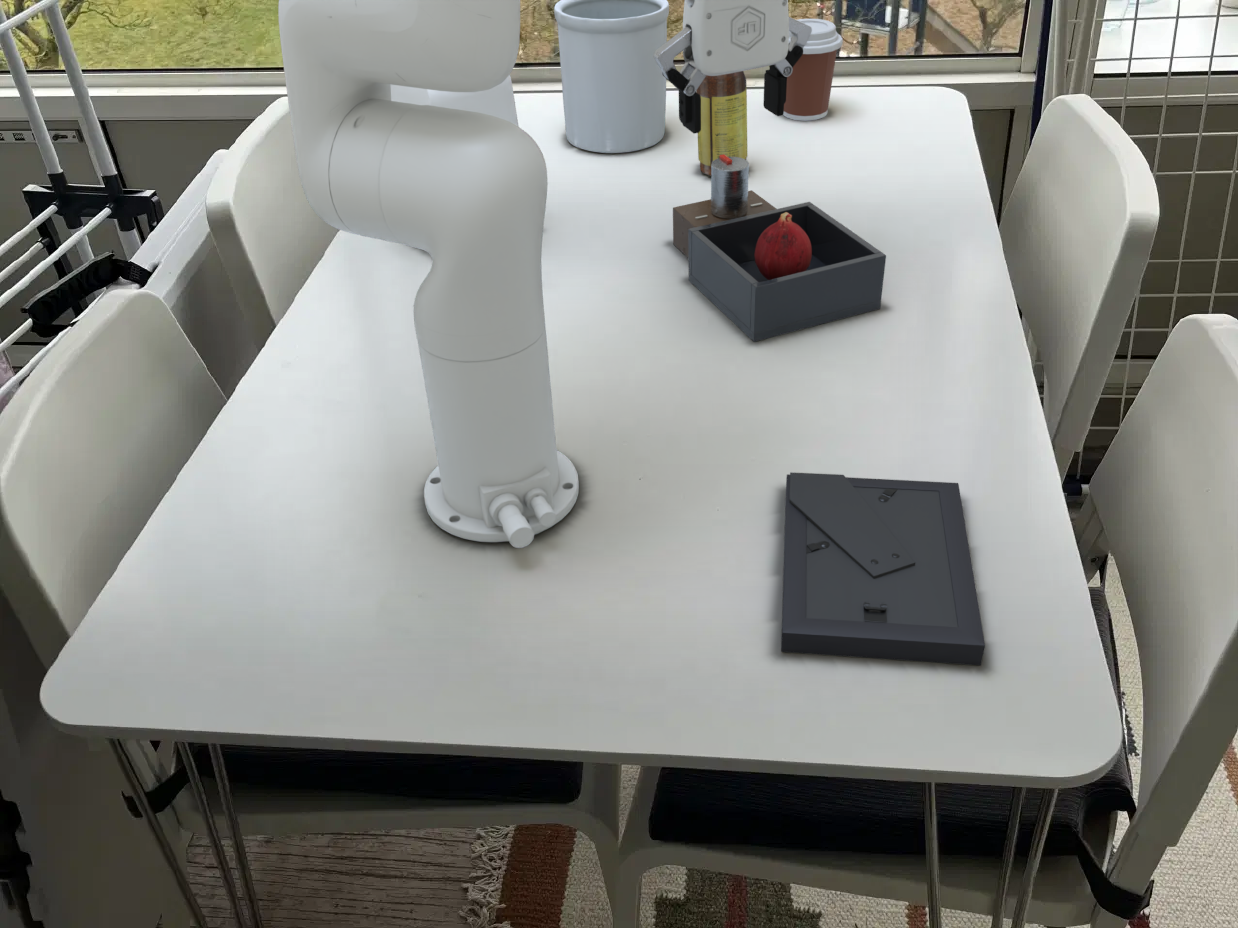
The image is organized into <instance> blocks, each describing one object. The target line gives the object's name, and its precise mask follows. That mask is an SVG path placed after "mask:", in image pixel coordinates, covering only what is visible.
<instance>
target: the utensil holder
mask: <svg viewBox="0 0 1238 928" xmlns="http://www.w3.org/2000/svg"><path fill="white" fill-rule="evenodd" d="M553 13H554V18H555V21H556V22H557V34H558V35H557V37H558V48H559V50H558V51H559V65H560V77H561V90H562V91H561V92H562V105H563V115H564V127H565V135H566V140H567V141H568V142H569V144H570V145H572V146H574V147H576V148H578V149H580V150H584V151H588V152H593V153H603V154H620V153H631V152H636V151H641V150H645V149H647V148H650V147H653V146H655V145H657V144H658V143H659V142H661V141H662V139H663V138H664V136H665V130H666V111H667V110H666V107H667V79H666V78H665V77H664V76H663V74H662V71H661V70H660V68H659V66H658V64H657V62H656V61H655V59H654V56H653V54H654V52H655V51H656V50H657V49H658V48H659V47H661V46H662V45H663V44H665V43H666V42H667V41H668V17H669V15H670V14H669V13H670V3H669V1H668V0H559V1H557V2H556V3H555V5H554V7H553Z"/></svg>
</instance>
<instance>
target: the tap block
mask: <svg viewBox="0 0 1238 928" xmlns="http://www.w3.org/2000/svg"><path fill="white" fill-rule="evenodd" d="M775 209H777V208H776V207H775V206H774V205H772V204H771V203H770V202H768V201H767V200H766V199H764V198H763V197H762V196H760V195H759V194H757V193H756V192H754V190H748V209H747V213H746V214H745V215H744V216H748V215H753V214H757V213H762V212H766V211H770V210H775ZM744 216H742V217H744ZM733 219H735V218H733ZM726 220H731V219H725V218H719V217H716V216H714V215H713V214H712V213H711V198H710V199H706V200H705V199H704V200H700V201H696V202H692V203H687V204H683V205H678V206H674V207H672V244H673V245H674V247H676V248H677V249H678V250H679V251H680V252H681V253H682V254H683V255H685V256H686V257H687V259H689V256H688V229H691V228H695V227H700V226H704V225H708V224H713V223H717V222H722V221H726Z"/></svg>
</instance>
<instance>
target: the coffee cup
mask: <svg viewBox="0 0 1238 928" xmlns="http://www.w3.org/2000/svg"><path fill="white" fill-rule="evenodd" d="M796 20H797V21H800V22H802V23H804V24H806V25H808V26H810V27H811V28H812V32H811V34H810V36H809V39H808V41H807V43H806V45H805V46H804V48H803V54H802V56H801V57H800V59H799V60H798V61H797V62H796V64H795V65H794V66H793V68H792V69H793V71H792V74H791V75H790V76H788V77H787V89H786V102H785V104H784V113H783V115H782V116H783V117H785V118H787V119H791V120H794V121H803V122H806V121H816V120H820V119H823V118H825V117H827V115H828V113H829V105H830V99H831V98H830V97H831V92H832V84H833V78H834V72H835V66H836V59H837V53H838V50H839V49H840V48H841V47H842V46H843V44H844V39H843V37H842V36H841V34H839V33H838V32H837V26H836V25H835V24H834V22H832V21H829V20H827V19H822V18H800V19H796ZM791 37H792V33H791V32H790V31H789V43H790V41H791V40H790V39H791Z"/></svg>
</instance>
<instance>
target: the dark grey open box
mask: <svg viewBox="0 0 1238 928" xmlns="http://www.w3.org/2000/svg"><path fill="white" fill-rule="evenodd" d="M785 212H787V213H789V214H790V215H792V218H791V220H792V222H794V223H796V224H797V225H799V226H800V227H801V228H802V229H803V230H804V232H805V233H806V234H807V236H808V237H809V240H810V243H811V248H812V256H811V261H810V265H809V267H808V268H807V270H806V271H804V272H799V273H795V274H791V275H787V276H783V277H779V278H775V279H771V280H768V279H766V278H765V277H764V276H763V275H762V274H761V273H760V271H759V269H758V267H757V265H756V263H755V255H754V254H755V248H756V244H757V241H758V238H759V237H760V235H761V234H762V232H763V231H764V230H765V229H767V228H768V227H769V226H770V225H772V224H774V223H776V222H777V221H778V220H779V218H780V216H781V214H783V213H785ZM688 256H689V258H688V281H689V282H690V283H691V284H692V285H693V286H694V287H695V288H696V289H697V290H698V291H699V292H700V293H702V295H704V296H705V297H706V299H708V300H709V302H711V303H712V304H713V305H714V306H715V307H716V308H717V309H718V310H719V311H720V312H721V313H722V314H723V315H725V316H726V318H727V319H729V320H730V321H731V322H732V323H733V324H734V325H735V326H736V327H737V328H738V329H739V330H740V331H742V332H743V333H744V334H745V335H746V336H747V337H748V338H749V339H750V340H751V341H752V342H753V343H756V342H759V341H762V340H767V339H771V338H774V337H778V336H782V335H785V334H790V333H793V332H796V331H801V330H804V329H809V328H812V327H816V326H820V325H823V324H827V323H831V322H835V321H839V320H842V319H846V318H850V317H854V316H857V315H862V314H865V313H870V312H872V311H876V310H880V309H881V304H882V297H883V289H884V280H885V279H884V277H885V270H886V269H885V268H886V261H887V260H886V259H887V255H886V254H885V253H884V252H882V251H881V250H879V249H878V248H876V247H875V246H873V244H871V243H869V242H868V241H867V240H865V239H864V238H862V237H861V236H860V235H858V234H856V233H855V232H853V231H852V230H850V229H849V228H848V227H846V226H845V225H844V224H842V223H841V222H839V221H838V220H837V219H836V218H833V217H832V216H831V215H829V214H827V213H826V212H825V211H824V210H822V209H821V208H819V207H818V206H816V205H815V204H813V203H812V202H811V201H806V202H802V203H797V204H794V205H787V206H784V207H780V208H776V209H775V210H770V211H766V212H762V213H757V214H753V215H748V216H744V217H739V218H735V219H731V220H726V221H722V222H717V223H713V224H708V225H704V226H700V227H695V228H691V229H688Z"/></svg>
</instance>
